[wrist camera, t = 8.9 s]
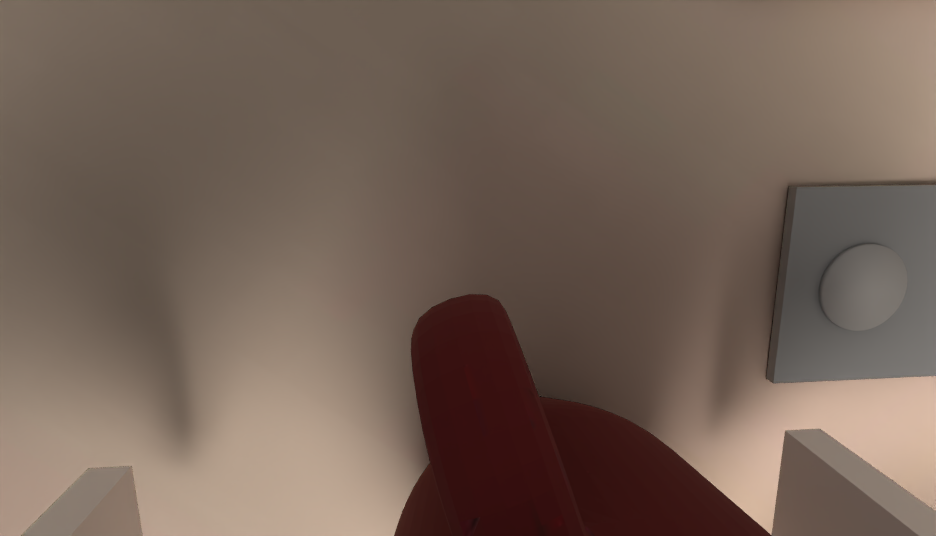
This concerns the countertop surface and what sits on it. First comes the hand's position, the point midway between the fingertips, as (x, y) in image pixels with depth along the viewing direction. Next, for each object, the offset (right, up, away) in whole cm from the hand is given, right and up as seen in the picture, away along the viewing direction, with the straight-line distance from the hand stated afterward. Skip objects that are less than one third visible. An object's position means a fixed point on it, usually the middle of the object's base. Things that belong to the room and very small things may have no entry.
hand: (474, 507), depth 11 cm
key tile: (+12, +4, +3) cm, 13 cm away
